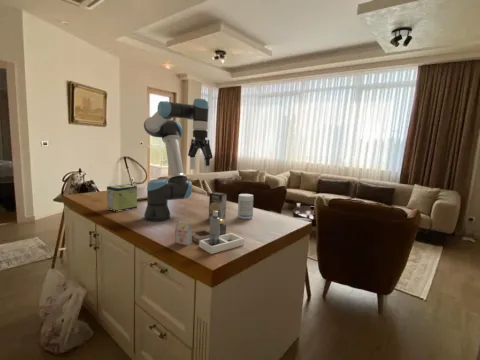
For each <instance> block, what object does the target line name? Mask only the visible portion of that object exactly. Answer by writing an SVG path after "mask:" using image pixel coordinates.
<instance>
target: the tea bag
mask: <svg viewBox="0 0 480 360" xmlns="http://www.w3.org/2000/svg"><path fill="white" fill-rule="evenodd" d="M192 231H193V230H192V227H191V223H190V222H185V221H179V220H178V221H177V223H176V227H175V231H174V243H175V242H176V243H175V244H178V243H179V245H182V244H183V246H186V247H187V245H188V246H190V245H191V244H192V243H193V240H192Z"/></svg>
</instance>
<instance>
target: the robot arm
mask: <svg viewBox="0 0 480 360" xmlns="http://www.w3.org/2000/svg"><path fill="white" fill-rule="evenodd" d="M157 104H158V105H157V111H156V112H155V113H154V114H153V115H152V116H149V117H147V118H146V119H145V121H144V122H143V129H144V131H145V132H146V134H148V135H149V136H151V137H154V138H161V139H162V142H163V143H164V144H165V149H166V151H165V152H166V157H167V164H168V169H169V176H170V177H169V178H168V179H167V178H156V179H152V180H149V181H148V182H147V187H146V190H147V191H146V193H147V199H146V200H147V201H146V202H147V204H146V205H147V206H146V209H145V212H144V214H143V215H144V217H143V218H144V219H143V220H145V221H147V222H162V221H163V222H164V221H167V220H170V219H171V212H170V208H169V206H168V203H169V202H168V201H173V200H186V199H188V198H189V199H190V197H191V195H192V192H193V183H192V181H191V179H190V180H189V179H188V176H187V175H185V172H184V166H183V161H182V159H183V158H182V154H181V149H180V143H179V141H180V140H181V138H182V137H183V127H182V125H181V123H180V122H179V121H178V120H173V118H174V119H175V118H176V119H177V118H178V119H185V120H186V119H187V120H193V122H192V130H193V131H192V137H193V138H191V140H190V141H191V142H190V146H189V149H188V153H187V156H189V157H190V163H189V165H190V167H189V169H190V170H196V154H197V153H198V151H199V149H201V152H202V155H203V157H204V158H203V173H210V164H211V163H210V162H211V161H210V160H211V159H213V158H214V157H213V152H212V150H211V145H210V144H211V143H210V139H207V138H208V129H209V128H208V127H209V125H208V124H209V101H208V100H207V99H205V98H194V100H193V104H189V103H179V102H174V101H168V100H167V101H166V100H165V101H163V100H162V101H161V100H160V101H158V103H157Z"/></svg>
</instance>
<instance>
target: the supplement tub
mask: <svg viewBox="0 0 480 360" xmlns="http://www.w3.org/2000/svg"><path fill="white" fill-rule="evenodd" d="M237 201H238V202H237V204H238V205H237V218H239V219H241V220H250V219H252V218H253V215H254V214H253V213H254V194H252V193H251V194H250V193H240V194H238V200H237Z"/></svg>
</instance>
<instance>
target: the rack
mask: <svg viewBox="0 0 480 360" xmlns="http://www.w3.org/2000/svg"><path fill="white" fill-rule="evenodd" d="M244 245H245V238H243V237H241V236H239V235H237V234H235V233H234V232H230V233H226V234H225V235H220V236H219V244H218V245H214V246H211V245H209V238H208V239H203V240H199V243H198V246H199V248H201V249H202V250H204V251H205V252H207V253H209V254H210V255H213V254H215V253H220V252H224V251H227V250H230V249H233V248H237V247H241V246H244Z"/></svg>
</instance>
